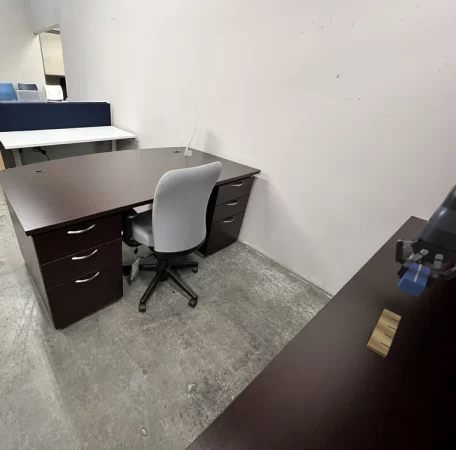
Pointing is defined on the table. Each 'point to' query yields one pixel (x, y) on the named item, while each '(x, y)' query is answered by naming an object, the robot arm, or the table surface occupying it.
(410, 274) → the pencil case
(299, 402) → the table surface
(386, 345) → the ruler
